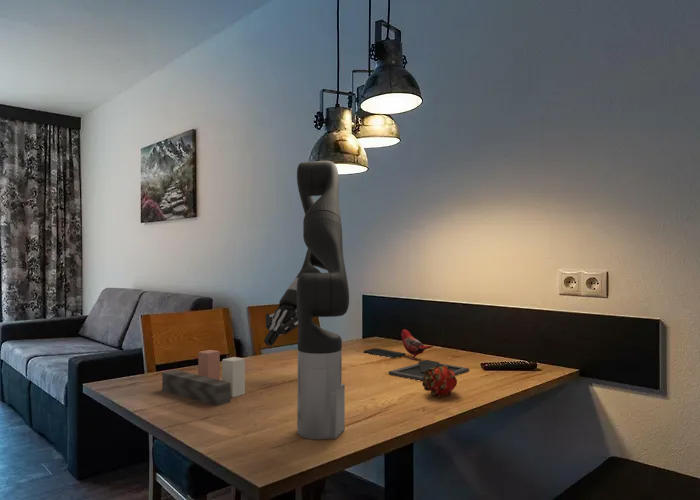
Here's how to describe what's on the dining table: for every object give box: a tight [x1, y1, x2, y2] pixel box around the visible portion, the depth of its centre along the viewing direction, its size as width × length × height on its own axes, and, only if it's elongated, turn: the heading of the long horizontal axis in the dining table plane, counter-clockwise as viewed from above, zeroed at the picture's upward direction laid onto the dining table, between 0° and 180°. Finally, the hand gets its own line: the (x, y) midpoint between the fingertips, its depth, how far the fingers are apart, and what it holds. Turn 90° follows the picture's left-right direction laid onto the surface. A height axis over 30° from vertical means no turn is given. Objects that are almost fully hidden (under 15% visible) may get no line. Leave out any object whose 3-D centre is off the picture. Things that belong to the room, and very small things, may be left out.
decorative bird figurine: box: [400, 328, 434, 360], centre depth 179 cm, size 3×18×10 cm, turn 33°
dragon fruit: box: [421, 366, 458, 398], centre depth 135 cm, size 8×8×12 cm
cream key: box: [221, 356, 246, 398], centre depth 130 cm, size 4×4×9 cm
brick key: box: [197, 349, 221, 380], centre depth 140 cm, size 4×4×9 cm
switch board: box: [161, 369, 231, 407], centre depth 133 cm, size 23×16×6 cm
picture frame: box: [388, 359, 470, 382], centre depth 160 cm, size 16×2×21 cm
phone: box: [363, 347, 407, 359], centre depth 189 cm, size 8×1×15 cm
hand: (267, 343), depth 141 cm, fingers closed
